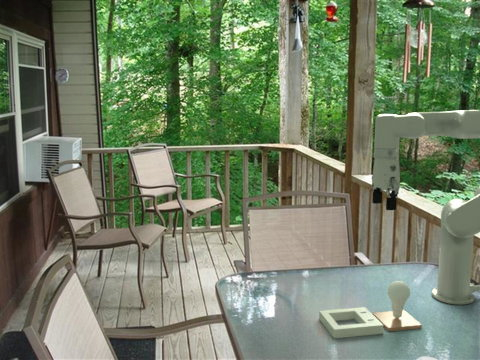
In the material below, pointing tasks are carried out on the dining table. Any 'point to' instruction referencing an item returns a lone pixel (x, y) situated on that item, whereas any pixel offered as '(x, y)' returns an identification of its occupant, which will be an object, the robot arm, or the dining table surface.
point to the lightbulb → (398, 296)
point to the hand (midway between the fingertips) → (383, 206)
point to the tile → (397, 321)
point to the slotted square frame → (361, 315)
